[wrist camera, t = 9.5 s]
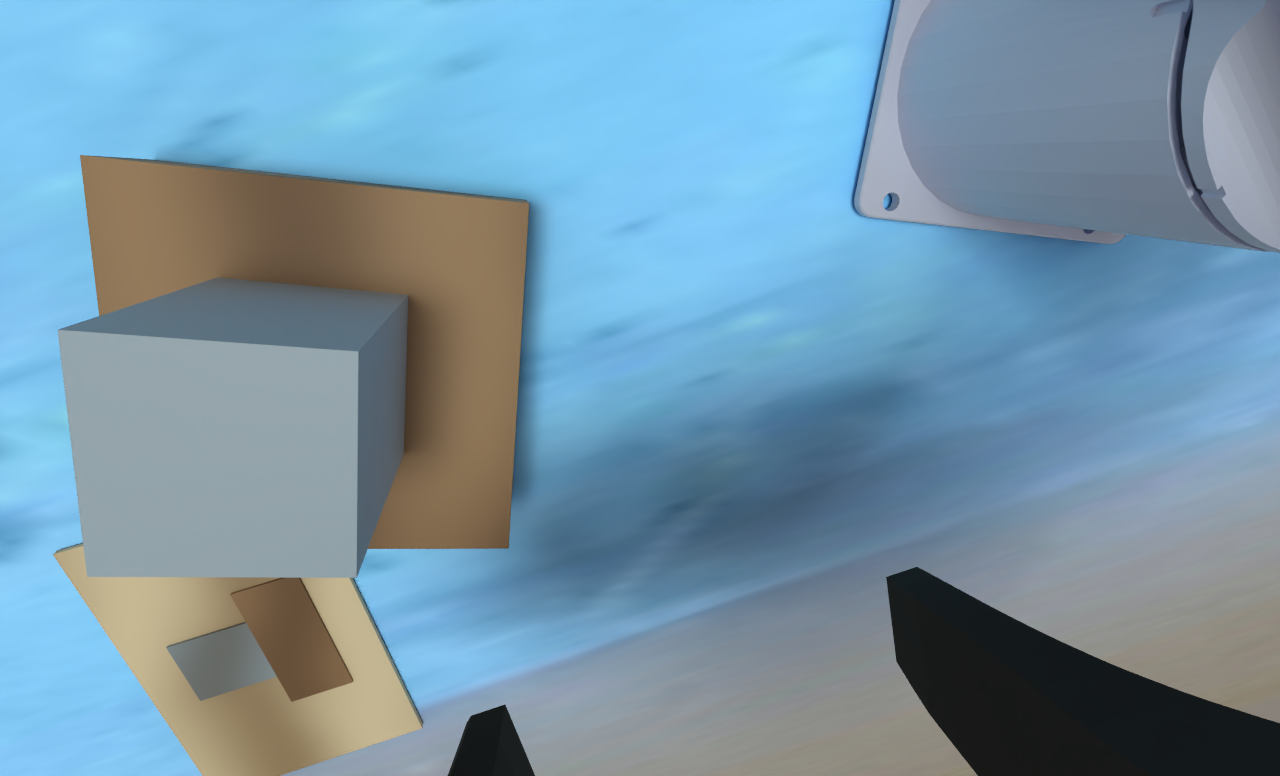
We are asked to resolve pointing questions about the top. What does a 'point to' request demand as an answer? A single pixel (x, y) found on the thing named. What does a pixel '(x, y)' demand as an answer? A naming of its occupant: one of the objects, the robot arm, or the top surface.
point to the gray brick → (236, 429)
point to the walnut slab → (358, 260)
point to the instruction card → (253, 665)
